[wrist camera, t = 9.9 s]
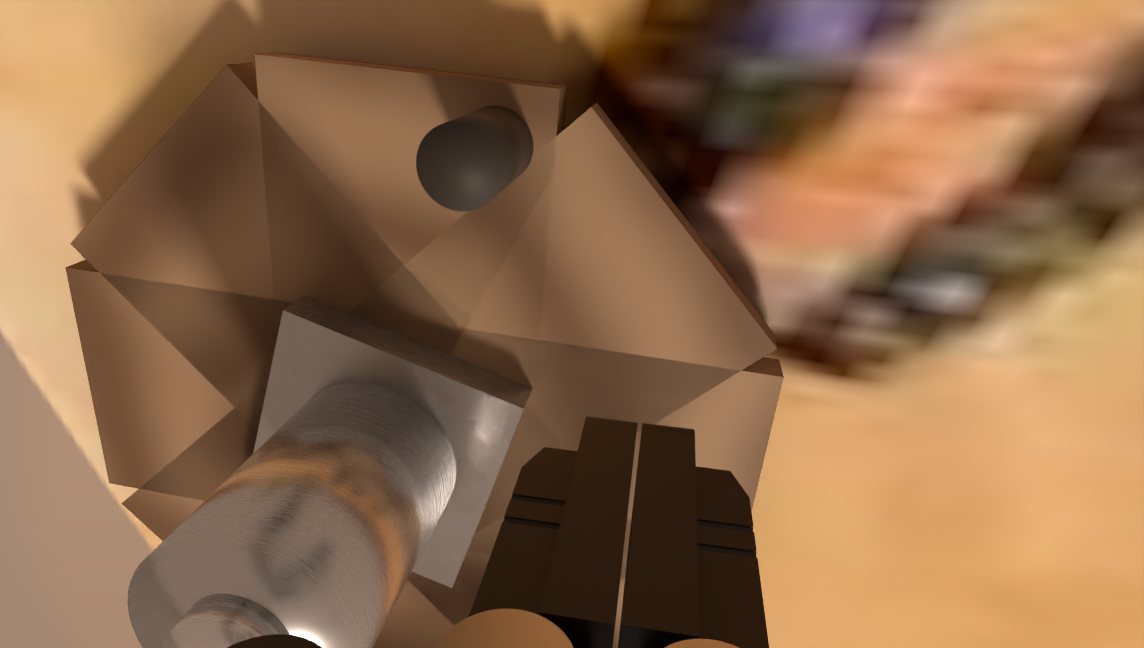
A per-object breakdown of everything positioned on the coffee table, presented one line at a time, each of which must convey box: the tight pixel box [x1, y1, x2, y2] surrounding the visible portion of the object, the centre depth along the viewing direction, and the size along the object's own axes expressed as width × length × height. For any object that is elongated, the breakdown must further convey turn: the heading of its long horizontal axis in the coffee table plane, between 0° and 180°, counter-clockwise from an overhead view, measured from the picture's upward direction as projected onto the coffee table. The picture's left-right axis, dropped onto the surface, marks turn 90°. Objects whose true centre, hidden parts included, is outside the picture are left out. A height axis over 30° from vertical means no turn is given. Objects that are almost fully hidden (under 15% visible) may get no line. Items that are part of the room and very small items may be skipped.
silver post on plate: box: [128, 295, 532, 648], centre depth 23 cm, size 9×9×11 cm
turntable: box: [66, 53, 783, 648], centre depth 26 cm, size 27×27×5 cm
